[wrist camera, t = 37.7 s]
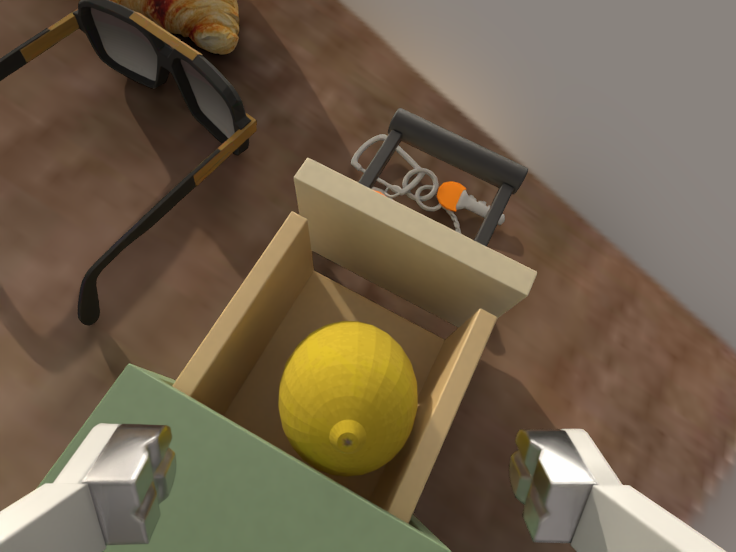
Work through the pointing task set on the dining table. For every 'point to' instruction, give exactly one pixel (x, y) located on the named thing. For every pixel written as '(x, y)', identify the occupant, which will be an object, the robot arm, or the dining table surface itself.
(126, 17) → the sunglasses
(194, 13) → the croissant
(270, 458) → the cabinet
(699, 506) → the dining table surface
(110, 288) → the dining table surface
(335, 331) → the lemon
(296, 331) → the drawer
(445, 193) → the key chain
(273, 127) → the dining table surface
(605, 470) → the robot arm
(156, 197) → the dining table surface
